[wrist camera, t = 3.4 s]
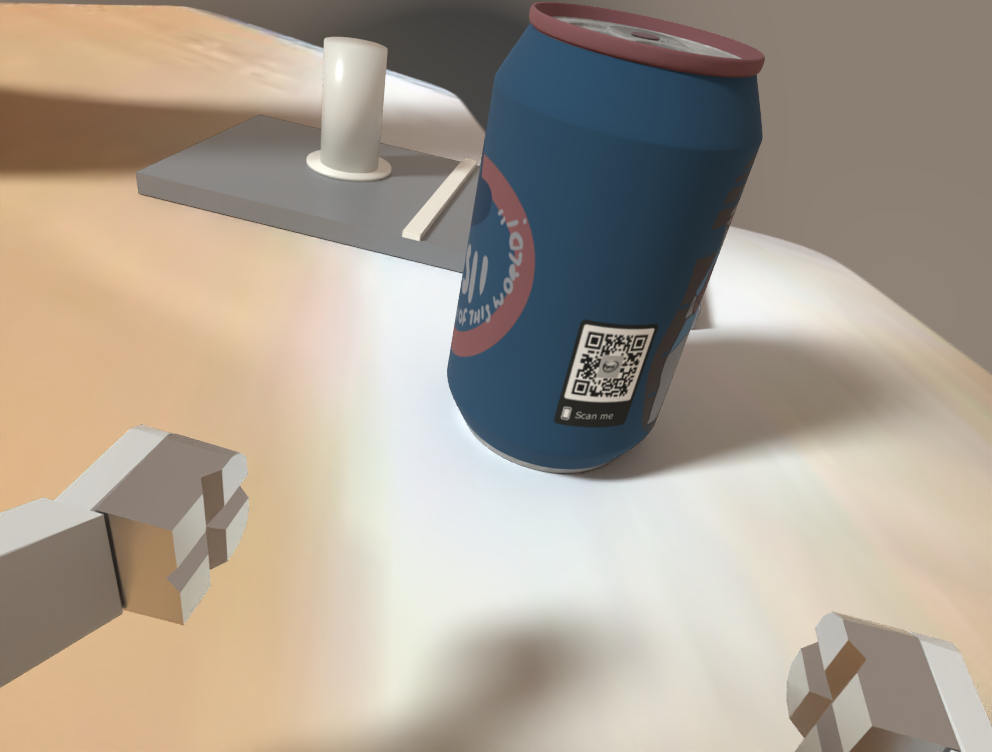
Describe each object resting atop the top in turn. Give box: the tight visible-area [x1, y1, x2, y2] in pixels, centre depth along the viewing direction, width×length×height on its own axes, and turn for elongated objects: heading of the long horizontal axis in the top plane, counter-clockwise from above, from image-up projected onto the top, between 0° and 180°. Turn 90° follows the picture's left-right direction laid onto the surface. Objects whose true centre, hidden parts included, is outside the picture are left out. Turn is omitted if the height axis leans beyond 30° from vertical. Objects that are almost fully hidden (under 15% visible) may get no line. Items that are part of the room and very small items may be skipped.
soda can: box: [447, 2, 765, 473], centre depth 20 cm, size 7×7×12 cm
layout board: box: [136, 37, 701, 329], centre depth 35 cm, size 26×12×7 cm, turn 79°
